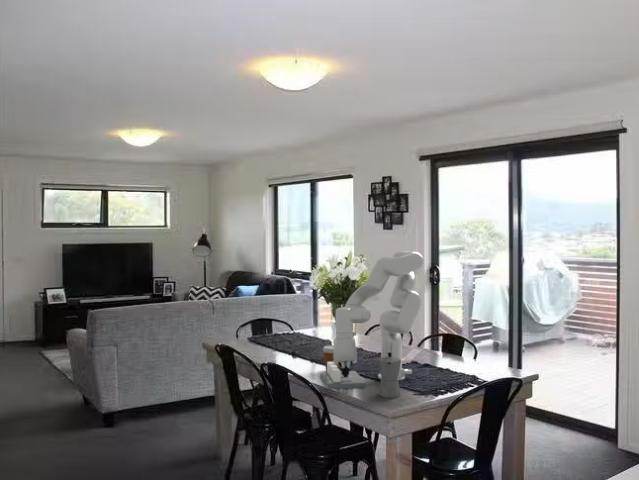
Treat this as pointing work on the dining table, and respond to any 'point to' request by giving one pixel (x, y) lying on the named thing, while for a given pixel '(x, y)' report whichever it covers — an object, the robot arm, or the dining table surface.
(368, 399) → the dining table surface
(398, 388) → the coffeepot
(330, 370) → the breaker
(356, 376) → the grey flat slab
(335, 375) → the breaker
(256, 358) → the dining table surface
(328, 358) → the disposable coffee cup
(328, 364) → the breaker
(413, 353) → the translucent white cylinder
